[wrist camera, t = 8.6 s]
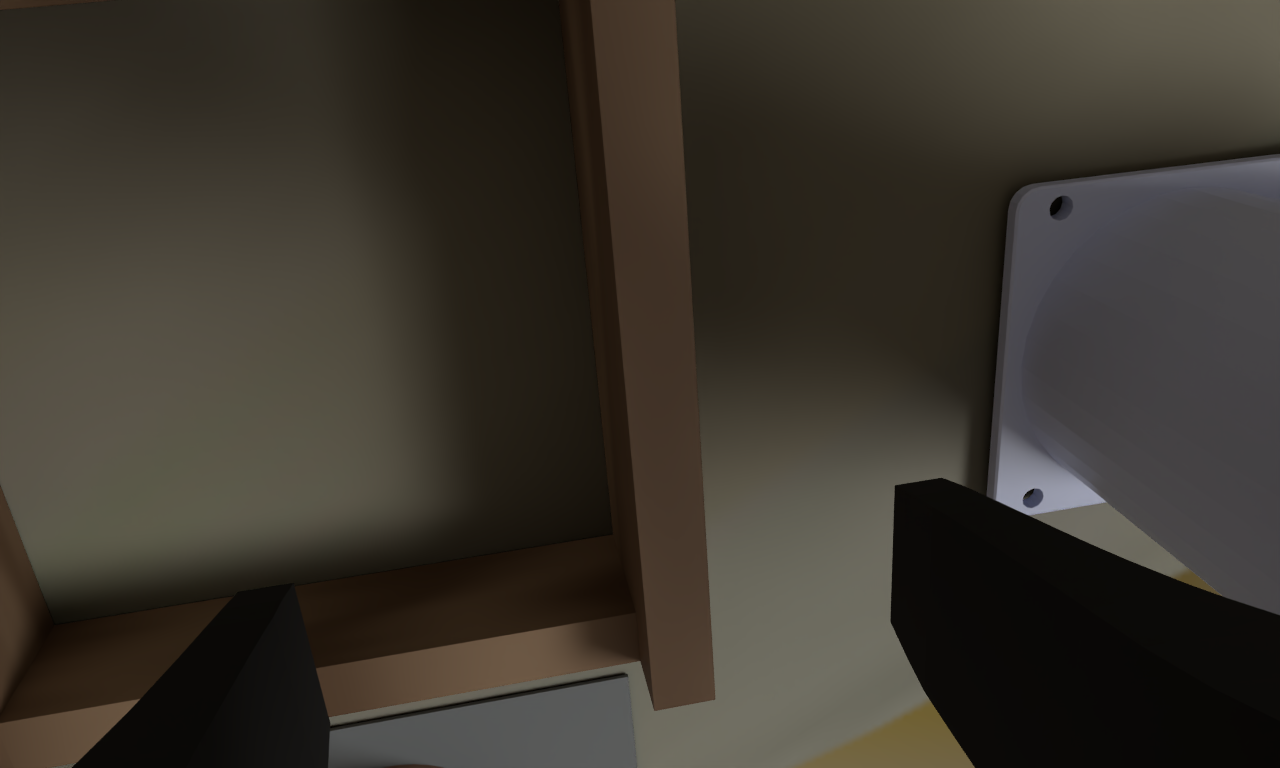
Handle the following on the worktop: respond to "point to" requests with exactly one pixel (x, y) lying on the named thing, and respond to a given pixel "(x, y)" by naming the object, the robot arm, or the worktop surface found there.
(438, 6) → the worktop surface
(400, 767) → the seedling pot
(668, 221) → the wooden square frame
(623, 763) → the rubber mat
